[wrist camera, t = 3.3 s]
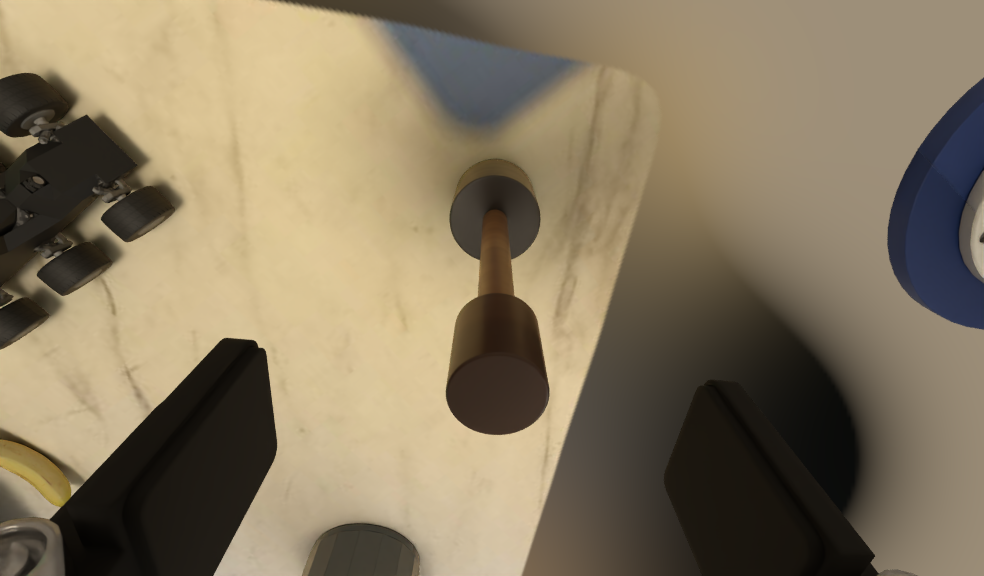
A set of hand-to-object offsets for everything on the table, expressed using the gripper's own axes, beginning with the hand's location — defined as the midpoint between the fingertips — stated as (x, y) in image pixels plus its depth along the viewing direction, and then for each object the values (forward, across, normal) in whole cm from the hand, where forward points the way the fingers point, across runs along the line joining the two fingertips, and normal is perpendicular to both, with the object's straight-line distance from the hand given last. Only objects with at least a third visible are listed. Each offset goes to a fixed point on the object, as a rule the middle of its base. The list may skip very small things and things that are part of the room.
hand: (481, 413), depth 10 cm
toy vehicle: (+18, +25, +4) cm, 31 cm away
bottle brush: (+18, -1, 0) cm, 18 cm away
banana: (+18, +31, +23) cm, 43 cm away
